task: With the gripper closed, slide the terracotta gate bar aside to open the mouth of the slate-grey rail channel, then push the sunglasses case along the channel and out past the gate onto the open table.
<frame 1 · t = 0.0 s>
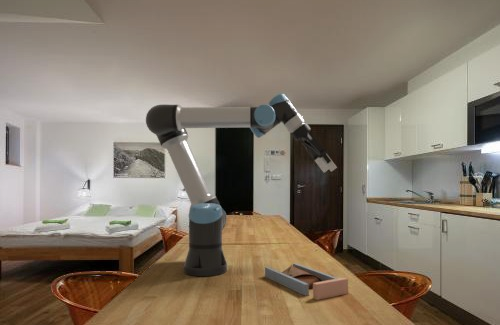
hand: (330, 170, 134), 36 cm above the table, tool tilted 35°, fingers open, 13 cm apart
sunglasses case: (296, 284, 106), on the table
channel: (299, 282, 105), on the table
gate: (330, 288, 92), point 2 cm above the table, slide at 0.0 cm
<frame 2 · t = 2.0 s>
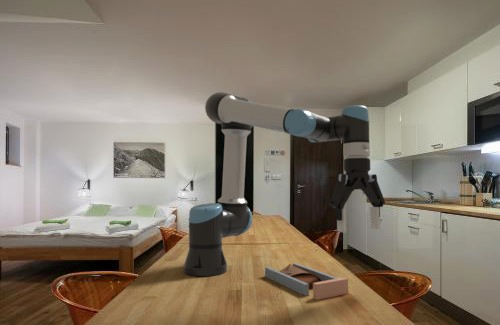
hand: (358, 230, 99), 17 cm above the table, tool pointing down, fingers open, 13 cm apart
nothing on the table moved.
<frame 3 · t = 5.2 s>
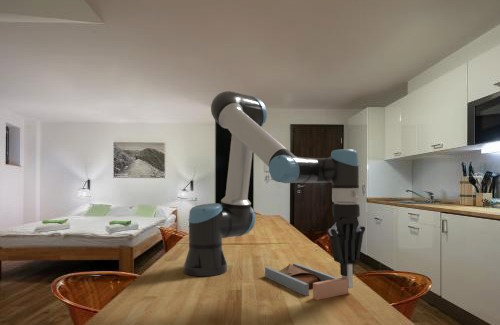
hand: (347, 286, 95), 1 cm above the table, tool pointing down, fingers closed
gate: (330, 288, 92), point 2 cm above the table, slide at 0.0 cm, touching gripper
everything else where it was.
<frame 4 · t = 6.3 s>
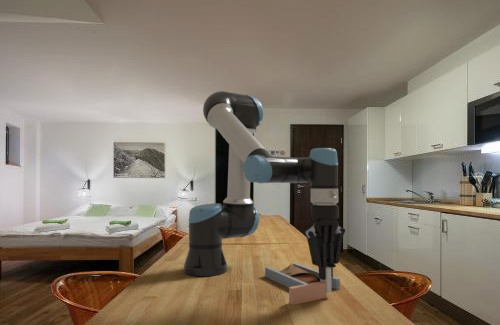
hand: (326, 290, 92), 1 cm above the table, tool pointing down, fingers closed
gate: (308, 292, 89), point 2 cm above the table, slide at 7.8 cm, touching gripper
everything else where it was.
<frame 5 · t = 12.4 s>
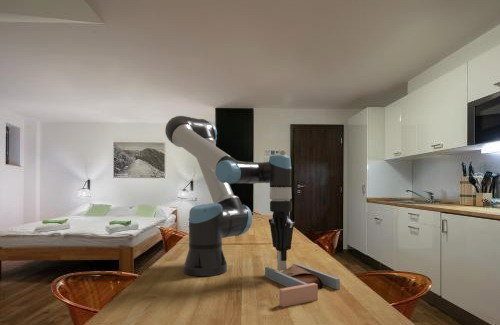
hand: (282, 269, 114), 2 cm above the table, tool pointing down, fingers closed
gate: (298, 294, 87), point 2 cm above the table, slide at 10.7 cm
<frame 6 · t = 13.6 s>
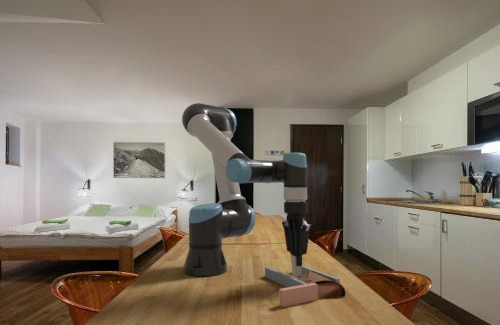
hand: (297, 275, 106), 2 cm above the table, tool pointing down, fingers closed
sunglasses case: (315, 291, 98), on the table, touching gripper
everything else where it was.
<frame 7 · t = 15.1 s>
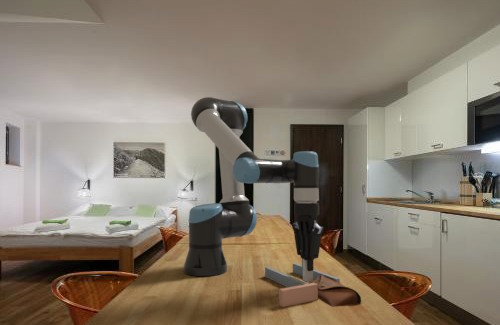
hand: (307, 280, 101), 1 cm above the table, tool pointing down, fingers closed
sunglasses case: (328, 297, 93), on the table, touching gripper
everything else where it was.
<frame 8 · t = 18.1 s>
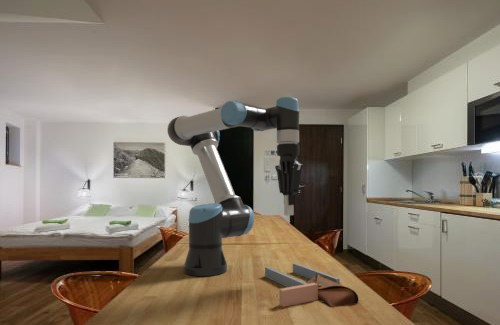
hand: (289, 215, 111), 20 cm above the table, tool pointing down, fingers closed
sunglasses case: (325, 297, 93), on the table
everything else where it was.
at the end: gate slide at 10.7 cm; sunglasses case inside the target area (6.7 cm from its centre), on the table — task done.
